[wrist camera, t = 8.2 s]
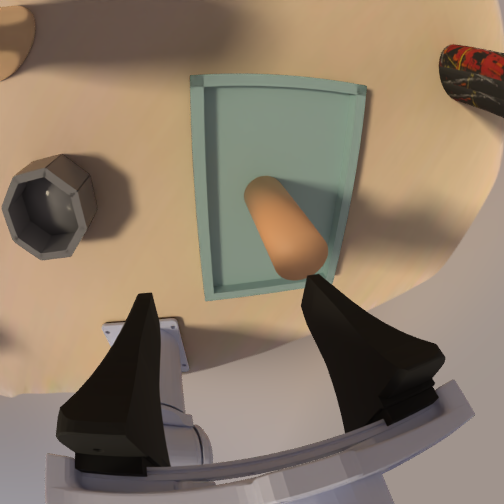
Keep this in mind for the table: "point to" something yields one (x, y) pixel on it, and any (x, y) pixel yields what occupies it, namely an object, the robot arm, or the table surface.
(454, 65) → the deodorant
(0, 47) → the beer glass
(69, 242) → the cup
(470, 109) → the table surface
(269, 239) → the dowel
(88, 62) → the table surface
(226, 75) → the tray
